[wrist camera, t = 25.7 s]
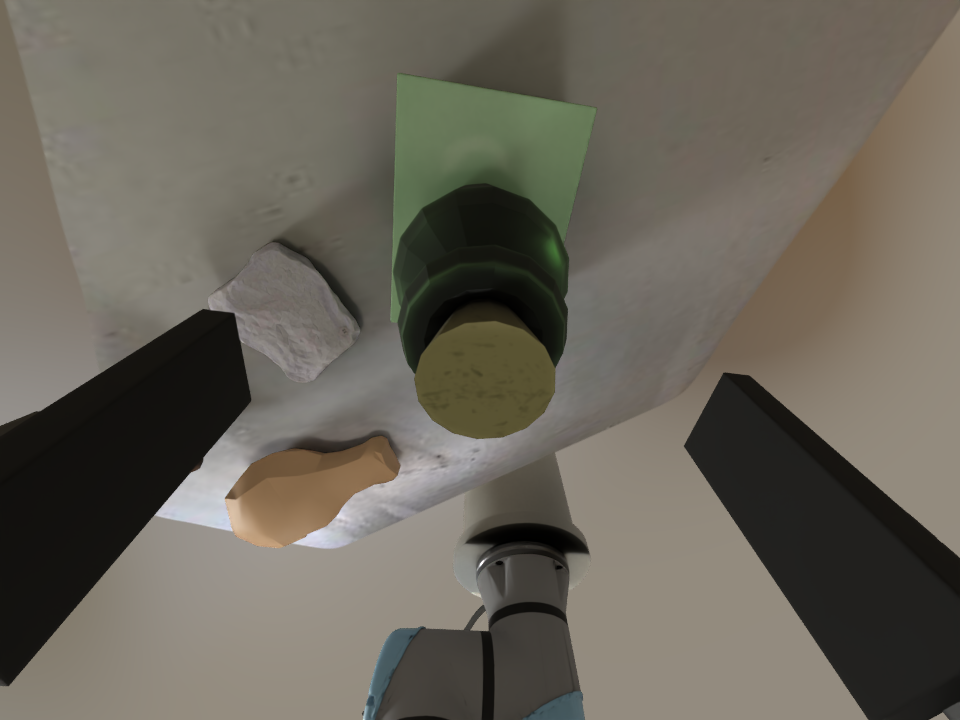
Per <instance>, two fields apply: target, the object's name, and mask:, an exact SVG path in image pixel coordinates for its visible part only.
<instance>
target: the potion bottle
mask: <svg viewBox="0 0 960 720" xmlns="http://www.w3.org/2000/svg"><path fill="white" fill-rule="evenodd" d="M568 267H569V257H568V254H567V252H566V249H565V247H564V244H563V242H562V239H561V236H560V234H559V231H558V229H557V226H556V224H554V223H553V222H552V221H551V220H550V219H549V218H548V217H547V216H546V215H545V214H544V213H543V212H542V211H541V210H540V209H539V208H538V207H537V206H536V205H535V204H534V203H533V202H532V201H531V200H530V199H528V198H525V197H522V196H520V195H517V194H514V193H512V192H509V191H506V190H504V189H501V188H498V187H495V186H492V185H490V184H487V183H482V184H470V185H464V186H462V187H459V188H457V189H455V190H453V191H451V192H449V193H448V194H446V195H444V196H442V197H440V198H439V199H437V200H435V201H433V202H432V203H430V204H428V205H426V206H424V207H423V208H421V210H420V211H419V212H418V214H417V215H416V216H415V218H414V219H413V220H412V222H411V223H410V225H409V226H408V227H407V229H406V230H405V231H404V233H403V234H402V235H401V237H400V239H399V244H398V249H397V253H396V258H395V262H394V267H393V271H392V272H393V277H394V282H395V287H396V292H397V297H398V303H399V305H400V307H401V309H400V313H399V317H398V321H397V322H398V327H399V332H400V337H401V342H402V347H403V351H404V354H405V357H406V360H407V363H408V365H409V366H410V368H411V369H412V371H413V372H414V373H415V378H414V380H415V385H416V391H417V396H418V401H419V403H420V404H421V405H422V407H423V408H424V409H425V411H426V412H427V414H428V415H429V416H430V418H431V419H432V420H433V421H434V422H436V423H438V424H439V425H441V426H442V427H444V428H445V429H447V430H449V431H450V432H452V433H454V434H459V435H463V436H467V437H471V438H475V439H485V438H501V437H505V436H507V435H510V434H512V433H515V432H518V431H520V430H523V429H525V428H527V427H528V426H529V425H530V424H531V423H533V422H534V421H535V420H536V419H537V418H539V417H540V416H541V415H542V414H543V413H544V412H545V410H546V408H547V406H548V404H549V402H550V400H551V398H552V396H553V395H554V393H555V368H556V366H557V364H558V362H559V360H560V358H561V356H562V354H563V350H564V347H565V343H566V339H567V316H568V308H567V306H566V303H565V301H564V298H565V296H566V294H567V291H568Z"/></svg>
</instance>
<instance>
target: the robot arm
mask: <svg viewBox="0 0 960 720" xmlns="http://www.w3.org/2000/svg"><path fill="white" fill-rule="evenodd" d="M250 402H251V395H250V390H249V385H248V380H247V374H246V369H245V364H244V359H243V354H242V348H241V343H240V338H239V333H238V328H237V322H236V317H235V313H231V312H223V311H215V310H207V309H202V310H201V311H199V312H197V313H196V314H194V315H193V316H191V317H189V318H188V319H186V320H185V321H183V322H181V323H180V324H178V325H177V326H175V327H174V328H172V329H170V330H169V331H167V332H166V333H164V334H162V335H161V336H159V337H158V338H156V339H154V340H153V341H151V342H150V343H148V344H146V345H145V346H143V347H142V348H140V349H139V350H137V351H135V352H134V353H132V354H131V355H129V356H127V357H126V358H124V359H123V360H121V361H119V362H118V363H116V364H115V365H113V366H111V367H110V368H108V369H107V370H105V371H104V372H102V373H100V374H99V375H97V376H96V377H94V378H92V379H91V380H89V381H88V382H86V383H84V384H83V385H81V386H80V387H78V388H76V389H75V390H73V391H72V392H70V393H68V394H67V395H65V396H64V397H62V398H61V399H59V400H57V401H56V402H54V403H53V404H51V405H50V406H48V407H46V408H45V409H43V410H42V411H40V412H37V411H36V412H33V413H31V414H29V415H26V416H24V417H21V418H19V419H16V420H14V421H11V422H9V423H6V424H4V425H1V426H0V686H9V685H10V684H11V683H12V682H13V680H14V679H15V678H16V677H17V676H18V675H19V673H20V672H21V671H22V670H23V668H25V666H26V665H27V664H28V663H29V662H30V660H31V659H32V658H33V657H34V656H35V654H36V653H37V652H38V651H39V650H40V649H41V648H42V646H43V645H44V644H45V643H46V642H47V640H48V639H49V638H50V637H51V636H52V635H53V633H54V632H55V631H56V630H57V629H58V628H59V626H60V625H61V624H62V623H63V622H64V621H65V619H66V618H67V617H68V616H69V615H70V613H71V612H72V611H73V610H74V609H75V608H76V606H77V605H78V604H79V603H80V602H81V601H82V599H83V598H84V597H85V596H86V595H87V594H88V592H89V591H90V590H91V589H92V588H93V586H94V585H95V584H96V583H97V582H98V580H99V579H100V578H101V577H102V576H103V575H104V573H105V572H106V571H107V570H108V569H109V568H110V566H111V565H112V564H113V563H114V562H115V561H116V559H117V558H118V557H119V556H120V555H121V554H122V552H123V551H124V550H125V549H126V548H127V546H128V545H129V544H130V543H131V542H132V541H133V539H134V538H135V537H136V536H137V535H138V534H139V532H140V531H141V530H142V529H143V528H144V527H145V525H146V524H147V523H148V522H149V521H150V520H151V518H152V517H153V516H154V515H155V514H156V512H157V511H158V510H159V509H160V508H161V507H162V505H163V504H164V503H165V502H166V501H167V500H168V498H169V497H170V496H171V495H172V494H173V493H174V491H175V490H176V489H177V488H178V487H179V485H180V484H181V483H182V482H183V481H184V480H185V478H186V477H187V476H188V475H189V474H190V473H191V471H192V470H193V469H194V468H195V467H196V465H197V464H198V463H199V462H200V461H201V460H202V458H203V457H204V456H205V455H206V454H207V453H208V451H209V450H210V449H211V448H212V447H213V446H214V444H215V443H216V442H217V441H218V440H219V438H220V437H221V436H222V435H223V434H224V433H225V431H226V430H227V429H228V428H229V427H230V426H231V424H232V423H233V422H234V421H235V420H236V419H237V417H238V416H239V415H240V414H241V413H242V411H243V410H244V409H245V408H246V407H247V406H248V404H249V403H250ZM684 447H685V448H686V450H687V451H688V453H689V454H690V456H691V457H692V459H693V460H694V462H695V463H696V465H697V466H698V468H699V469H700V471H701V472H702V474H703V475H704V477H705V478H706V480H707V481H708V483H709V484H710V486H711V487H712V489H713V490H714V492H715V493H716V495H717V496H718V497H719V499H720V500H721V502H722V503H723V505H724V506H725V508H726V509H727V511H728V512H729V514H730V515H731V517H732V518H733V520H734V521H735V523H736V524H737V525H738V527H739V528H740V530H741V531H742V533H743V535H744V536H745V537H746V539H747V540H748V542H749V543H750V545H751V546H752V548H753V549H754V551H755V552H756V554H757V555H758V557H759V558H760V560H761V561H762V563H763V564H764V566H765V567H766V569H767V570H768V572H769V573H770V574H771V576H772V577H773V579H774V580H775V582H776V583H777V585H778V586H779V588H780V589H781V591H782V592H783V594H784V595H785V597H786V598H787V600H788V601H789V603H790V604H791V606H792V607H793V609H794V610H795V612H796V613H797V615H798V616H799V617H800V619H801V620H802V622H803V623H804V625H805V626H806V628H807V629H808V631H809V632H810V634H811V635H812V637H813V638H814V640H815V641H816V643H817V644H818V646H819V647H820V649H821V650H822V651H823V653H824V655H825V656H826V658H827V659H828V660H829V662H830V663H831V665H832V666H833V668H834V669H835V671H836V672H837V674H838V675H839V677H840V678H841V680H842V681H843V683H844V684H845V686H846V687H847V689H848V690H849V692H850V693H851V695H852V696H853V698H854V699H855V700H856V702H857V703H858V705H859V706H860V708H861V709H862V711H863V712H864V714H865V715H866V717H867V718H868V720H929V719H931V718H933V717H935V716H937V715H939V714H940V713H942V712H943V713H944V714H945V715H946V716H947V718H948V719H949V720H960V558H959V557H958V556H957V555H956V554H955V553H954V552H953V551H951V550H950V549H949V548H948V547H947V546H946V545H944V544H943V543H941V542H940V541H939V540H938V539H937V538H936V537H935V536H934V535H933V534H932V533H931V532H929V531H928V530H927V529H926V528H925V527H924V526H923V525H921V524H920V523H919V522H918V521H917V520H916V519H915V518H913V517H912V516H911V515H910V514H908V513H907V512H906V511H905V510H903V509H902V508H901V507H900V506H899V505H898V504H896V503H895V502H894V501H893V500H892V499H891V498H890V497H888V496H887V495H886V494H885V493H884V492H883V491H882V490H880V489H879V488H878V487H877V486H876V485H875V484H873V483H872V482H871V481H870V480H869V479H868V478H867V477H865V476H864V475H863V474H862V473H861V472H859V470H857V469H856V468H855V467H854V466H853V465H851V464H850V463H849V462H848V461H847V460H846V459H845V458H844V457H842V456H841V455H840V454H839V453H838V452H837V451H836V450H834V449H833V448H832V447H831V446H830V445H829V444H827V443H826V442H825V441H824V440H823V439H822V438H820V437H819V436H818V435H817V434H816V433H815V432H814V431H813V430H811V429H810V428H809V427H808V426H807V425H806V424H804V423H803V422H802V421H801V420H800V419H799V418H798V417H796V416H795V415H794V414H793V413H792V412H790V410H788V409H787V408H786V407H785V406H784V405H783V404H781V403H780V402H779V401H778V400H777V399H776V398H774V397H773V396H772V395H771V394H770V393H769V392H767V391H766V390H765V389H764V388H763V387H762V386H760V384H758V383H757V382H756V381H755V380H754V379H753V378H752V377H750V376H749V375H740V374H732V373H723V375H722V377H721V379H720V380H719V382H718V384H717V386H716V388H715V390H714V391H713V393H712V395H711V397H710V399H709V401H708V403H707V404H706V406H705V408H704V410H703V412H702V414H701V415H700V417H699V419H698V421H697V423H696V425H695V427H694V428H693V430H692V432H691V434H690V436H689V438H688V439H687V441H686V443H685V445H684ZM476 580H477V585H478V588H479V591H480V594H481V597H482V600H483V603H484V605H482V606H481V607H480V608H479V609H478V610H477V611H476V612H475V614H474V615H473V616H472V618H471V620H470V621H469V623H468V624H467V626H466V627H465V629H464V630H446V629H426V628H425V627H423V626H422V627H418V628H400V629H397V630H395V631H394V632H392V633H391V634H390V635H389V637H388V638H387V639H386V641H385V643H384V645H383V647H382V650H381V652H380V655H379V658H378V661H377V664H376V667H375V670H374V674H373V677H372V681H371V684H370V689H369V698H368V699H367V704H366V707H365V711H363V713H362V715H363V720H585V717H584V711H583V704H582V701H583V694H582V692H581V690H580V685H579V680H578V675H577V669H576V665H575V659H574V654H573V649H572V644H571V639H570V633H569V628H568V624H567V618H566V605H567V596H568V586H569V567H568V562H567V559H566V556H565V555H564V553H563V552H562V551H561V550H560V549H559V548H557V547H556V546H554V545H552V544H550V543H547V542H544V541H539V540H533V539H517V540H510V541H506V542H502V543H499V544H497V545H495V546H493V547H491V548H489V549H488V550H486V551H485V552H484V553H483V554H482V555H481V556H480V558H479V559H478V561H477V565H476ZM485 611H486V612H487V615H488V621H489V622H488V623H489V631H470V629H471V628H472V626H473V625H474V623H475V622H476V621H477V619H478V618H479V617H480V616H481V615H482V614H483V613H484V612H485Z"/></svg>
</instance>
